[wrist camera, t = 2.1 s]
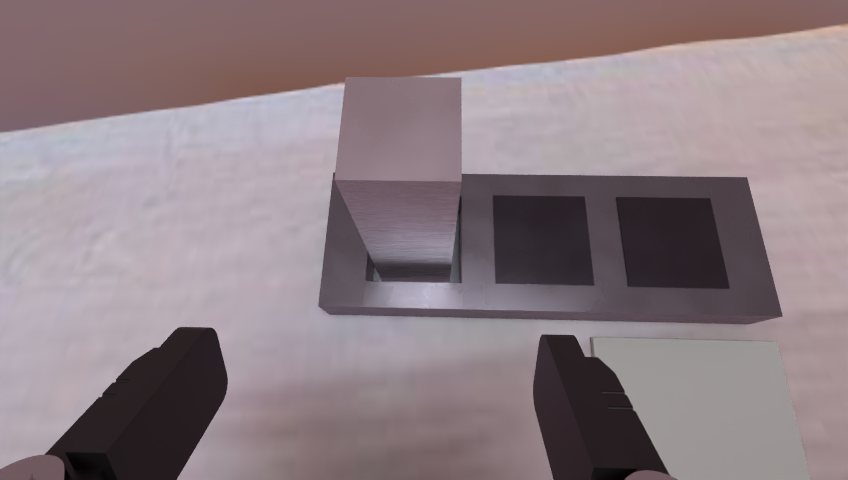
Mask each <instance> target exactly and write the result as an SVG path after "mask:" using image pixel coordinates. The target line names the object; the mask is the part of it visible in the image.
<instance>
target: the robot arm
mask: <svg viewBox="0 0 848 480" xmlns="http://www.w3.org/2000/svg"><path fill="white" fill-rule="evenodd" d="M227 384H228V378H227V372H226V368H225V364H224V360H223V356H222V352H221V348H220V344H219V340H218V336H217V333H216V331H215V330H214V329H213V328H204V327H180V328H177V329H176V330H175V331H174V332H173V333H172V334H171V335H170V336H169V337H168V338H167V340H166V341H165V342H164V343H163V344H162V345H161V346H160V347H159V348H153V349H152V350H150V351H149V352H147V353H146V354H144V355H142V356H141V357H139V358H138V359H136V360H135V361H133V362H132V363H131V364H130V365H129V366H128V367H127V368H126V369H125V370H124V371H123V372H122V374H121V375H120V376H119V377H118V378H117V379H116V382H115V383H112V384H111V385H110V386H109V387H108V388H107V389H106V390H105V391H104V393H103V395H102V397H99V398H98V399H97V400H96V401H95V402H94V403H93V404H92V405H91V406H90V407H89V408H88V409H87V410H86V412H85V413H84V414H83V415H82V416H81V417H80V418H79V419H78V420H77V421H76V422H75V423H74V424H73V425H72V426H71V427H70V428H69V429H68V431H67V432H66V433H65V434H64V435H63V436H62V437H61V438H60V439H59V440H58V441H57V442H56V443H55V444H54V445H53V446H52V447H51V448H50V450H49V451H48V452H47V453H46V454H45V455H38V456H33V457H29V458H25V459H22V460H19V461H17V462H14V463H12V464H10V465H8V466H6V467H4V468H2V469H0V480H177V478H178V476H179V475H180V473H181V471H182V470H183V468H184V466H185V465H186V463H187V461H188V459H189V458H190V456H191V454H192V453H193V451H194V449H195V448H196V446H197V444H198V443H199V441H200V439H201V438H202V436H203V434H204V432H205V431H206V429H207V427H208V426H209V424H210V422H211V421H212V419H213V417H214V416H215V414H216V412H217V411H218V409H219V407H220V406H221V404H222V402H223V400H224V398H225V395H226V391H227ZM533 397H534V406H535V411H536V414H537V418H538V422H539V426H540V430H541V433H542V437H543V441H544V445H545V448H546V452H547V456H548V460H549V464H550V467H551V471H552V475H553V479H554V480H678V479H676V478H674V477H672V476H670V474H669V473H668V471H667V469H666V467H665V465H664V464H663V462H662V460H661V458H660V456H659V454H658V452H657V450H656V449H655V447H654V445H653V443H652V441H651V439H650V437H649V435H648V434H647V432H646V430H645V428H644V426H643V424H642V422H641V420H640V419H639V417H638V415H637V413H636V411H634V410H633V405H632V404H631V402H630V400H629V398H628V396H627V395H625V390H624V389H623V387H622V385H621V383H620V381H619V379H618V377H617V375H616V374H615V372H614V371H612V370H611V369H610V368H609V367H608V366H607V365H606V364H605V363H604V362H603V361H601V360H600V359H599V358H598V357H585V356H584V354H583V352H582V349H581V347H580V345H579V343H578V341H577V339H576V337H575V336H574V335H541V337H540V341H539V348H538V355H537V362H536V369H535V376H534V384H533Z"/></svg>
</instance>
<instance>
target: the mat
mask: <svg viewBox="0 0 848 480" xmlns="http://www.w3.org/2000/svg"><path fill="white" fill-rule="evenodd" d="M590 339H591V349H592V357H598V358H599V359H600V360H601V361H603V362H604V363H605V364H606V365H607V366H608V367H609V368H610V369H611V370H612V371H614V372H615V374H616V375H617V377H618V379H619V381H620V383H621V385H622V387H623V389H624V390H625V395H627V396H628V398H629V400H630V402H631V404H632V405H633V410H634V411H636V413H637V415H638V417H639V419H640V420H641V422H642V424H643V426H644V428H645V430H646V432H647V434H648V435H649V437H650V439H651V441H652V443H653V445H654V447H655V449H656V450H657V452H658V454H659V456H660V458H661V460H662V462H663V464H664V465H665V467H666V469H667V471H668V473H669V474H670V476H672V477H674V478H676V479H678V480H811V477H810V473H809V469H808V465H807V461H806V457H805V453H804V448H803V444H802V440H801V436H800V432H799V428H798V424H797V420H796V416H795V412H794V408H793V404H792V400H791V396H790V392H789V388H788V384H787V380H786V376H785V372H784V368H783V364H782V360H781V356H780V352H779V348H778V344H777V342H768V341H727V340H686V339H646V338H605V337H592V338H590Z"/></svg>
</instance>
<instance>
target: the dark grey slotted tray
mask: <svg viewBox="0 0 848 480" xmlns="http://www.w3.org/2000/svg"><path fill="white" fill-rule="evenodd" d="M458 213H459V283H426V282H377V281H373V268H374V263H373V261H372V259H371V257H370V255H369V252H368V250H367V248H366V246H365V244H364V242H363V240H362V237H361V235H360V233H359V231H358V229H357V227H356V225H355V223H354V220H353V218H352V216H351V214H350V212H349V210H348V208H347V205H346V203H345V201H344V199H343V197H342V195H341V193H340V191H339V188H338V186H337V184H336V182H335V173H333V181H332V190H331V199H330V208H329V217H328V225H327V234H326V243H325V252H324V261H323V270H322V279H321V288H320V297H319V307H320V308H322V309H323V310H324V311H326V312H327V313H328V314H334V315H377V316H420V317H463V318H506V319H550V320H593V321H636V322H679V323H723V324H752V323H756V322H761V321H765V320H769V319H774V318H778V317H782V312H781V308H780V304H779V300H778V296H777V293H776V289H775V285H774V281H773V277H772V273H771V269H770V265H769V261H768V257H767V254H766V250H765V246H764V242H763V238H762V234H761V230H760V226H759V222H758V219H757V215H756V211H755V207H754V203H753V199H752V195H751V191H750V187H749V184H748V180H747V177H666V176H582V175H498V174H462V182H461V190H460V198H459V207H458Z"/></svg>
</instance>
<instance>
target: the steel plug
mask: <svg viewBox="0 0 848 480" xmlns="http://www.w3.org/2000/svg"><path fill="white" fill-rule="evenodd" d="M335 182H336V184H337V186H338V188H339V191H340V193H341V195H342V197H343V199H344V201H345V203H346V205H347V208H348V210H349V212H350V214H351V216H352V218H353V220H354V223H355V225H356V227H357V229H358V231H359V233H360V235H361V237H362V240H363V242H364V244H365V246H366V248H367V250H368V252H369V255H370V257H371V259H372V261H373V263H374V265H375V267H376V269H377V272H378V274H379V276H380V278H381V280H382V282H426V283H449V282H450V273H451V265H452V257H453V248H454V240H455V232H456V223H457V215H458V207H459V198H460V190H461V182H462V174H461V78H418V77H346V81H345V90H344V99H343V108H342V117H341V126H340V135H339V144H338V153H337V162H336V171H335Z"/></svg>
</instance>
